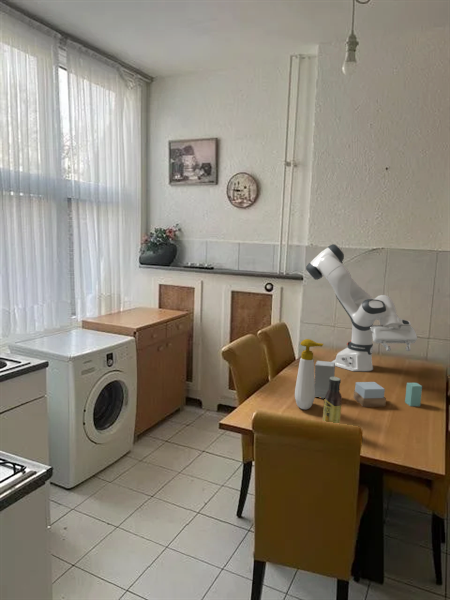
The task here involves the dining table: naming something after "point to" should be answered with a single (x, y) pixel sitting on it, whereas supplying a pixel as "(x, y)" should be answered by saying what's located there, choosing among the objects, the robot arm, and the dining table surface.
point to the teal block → (413, 394)
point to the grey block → (369, 390)
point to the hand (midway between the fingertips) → (398, 350)
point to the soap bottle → (306, 376)
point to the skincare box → (323, 377)
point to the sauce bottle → (332, 401)
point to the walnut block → (369, 401)
